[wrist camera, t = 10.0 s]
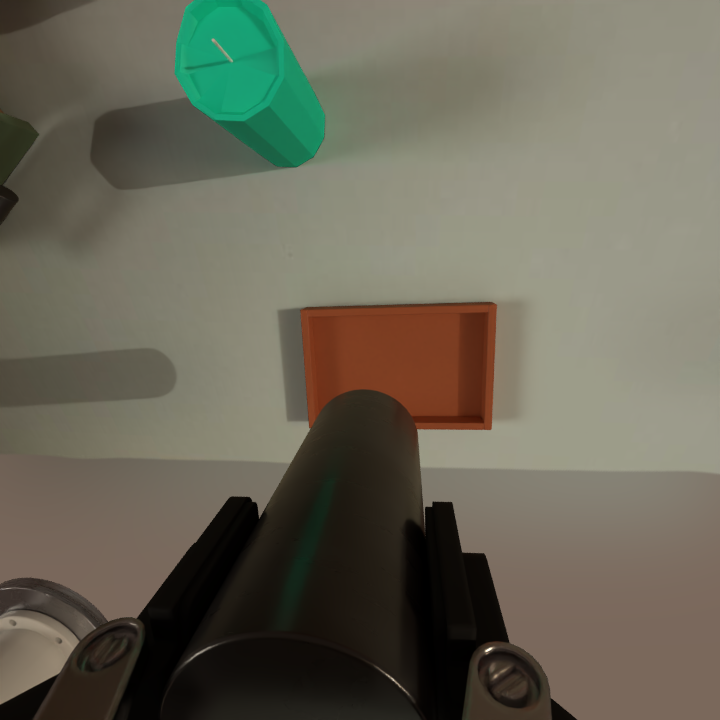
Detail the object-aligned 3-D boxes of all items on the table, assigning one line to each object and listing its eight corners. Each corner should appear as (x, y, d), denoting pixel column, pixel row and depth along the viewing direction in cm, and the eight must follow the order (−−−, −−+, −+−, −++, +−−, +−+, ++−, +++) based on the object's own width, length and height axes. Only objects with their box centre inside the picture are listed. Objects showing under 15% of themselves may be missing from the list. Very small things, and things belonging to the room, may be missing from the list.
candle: (287, 61, 29) (210, -72, 17) (342, 126, 30) (301, 40, 18) (233, 123, 30) (128, 39, 19) (286, 185, 31) (216, 139, 20)
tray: (313, 420, 36) (309, 428, 34) (305, 307, 33) (300, 309, 32) (486, 421, 34) (491, 430, 32) (491, 301, 32) (496, 304, 30)
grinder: (317, 484, 19) (179, 834, 7) (310, 389, 18) (132, 625, 6) (418, 486, 18) (440, 870, 7) (417, 388, 17) (443, 647, 6)
